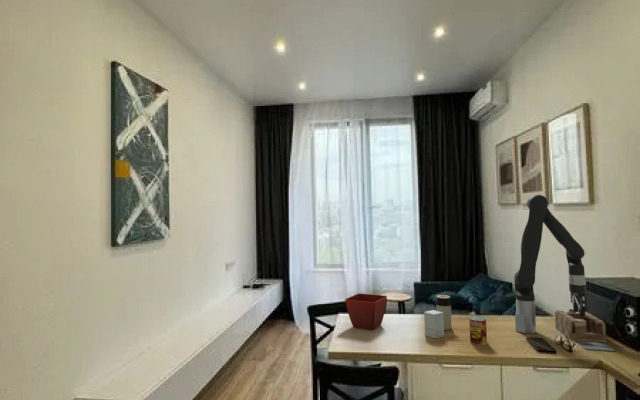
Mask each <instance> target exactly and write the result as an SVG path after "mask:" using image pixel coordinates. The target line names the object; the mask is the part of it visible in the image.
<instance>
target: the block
mask: <svg viewBox="0 0 640 400" xmlns="http://www.w3.org/2000/svg"><path fill="white" fill-rule="evenodd" d="M576 320H578V323H573V322H572V325H573V329H575V330H581V331H586V321H585V320H584V319H576Z"/></svg>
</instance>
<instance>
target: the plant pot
mask: <svg viewBox="0 0 640 400" xmlns="http://www.w3.org/2000/svg"><path fill="white" fill-rule="evenodd" d="M387 299H388V296H387V295H381V294H373V293H372V294H370V293H356V294H354V295H351V296H349V297H347V298H345V299H344V302H345V305H346V310H347V313H348V317H349V320H350V322H351V325H352V326H353V328H354V327H356V329H361V328H362V330H369V331H370V330H371V331H374V330H375V329H377V328H378V327H380V326H381V325H382V323H383V319H384V316H385V312H386V306H387Z"/></svg>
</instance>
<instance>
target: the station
mask: <svg viewBox="0 0 640 400" xmlns="http://www.w3.org/2000/svg"><path fill="white" fill-rule="evenodd" d="M554 315H555V329H556V330H557V331H558V332H560V333H561V334H562V335H563V336H564V337H565V336H566V337H565V338H567V339H568V340H569V341H575V343H577V344H578V345H580V346H581V347H582V348H583V349H584V350H586V351H595V352H596V351H597V352H598V351H599V352H612V351H615V352H616V350H615V349H614V348H612V347H611V346H609V345H607V344H606V343H607V333H606V331H607V330H606V329H607V328H606V323H605V322H604V321H603V320H601V319H600V318H598V317H597V316H595V315H593V314H592V313H589V312H588V311H585V316H580V311H579V312H576V313H567V311H566V312H565V311H564V310H556V311H555V313H554ZM576 319H584V320H585V321H586V331H581V330H575V329H573V325H572V322H573V323H578V320H576ZM615 352H614V353H615Z"/></svg>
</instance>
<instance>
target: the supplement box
mask: <svg viewBox="0 0 640 400" xmlns="http://www.w3.org/2000/svg"><path fill="white" fill-rule="evenodd" d="M423 314H424V315H423V316H424V317H423V318H424V320H423V321H424V336H427V337H430V338H433V339H438V338H442V337H445V330H444V319H443V312H439V311H436V310H434V309H432V310H426V311H424V312H423Z"/></svg>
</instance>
